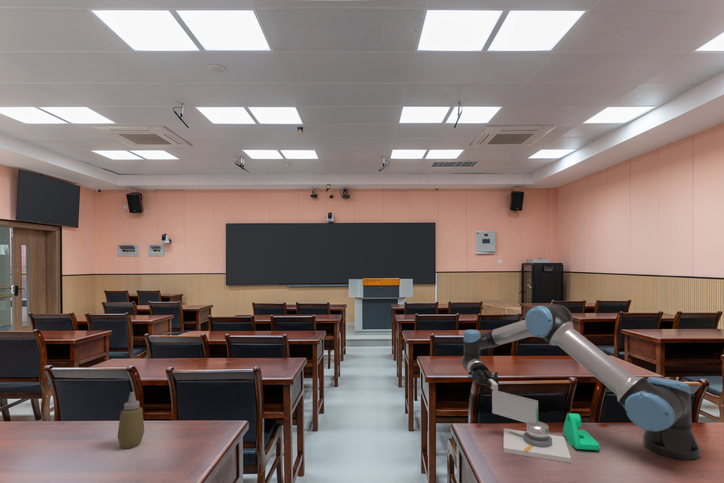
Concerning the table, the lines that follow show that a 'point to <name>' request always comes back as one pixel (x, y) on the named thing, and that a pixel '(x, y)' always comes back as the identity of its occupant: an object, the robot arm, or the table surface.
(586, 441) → the green mounting bracket
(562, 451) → the post base
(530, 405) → the brushed metal plate
